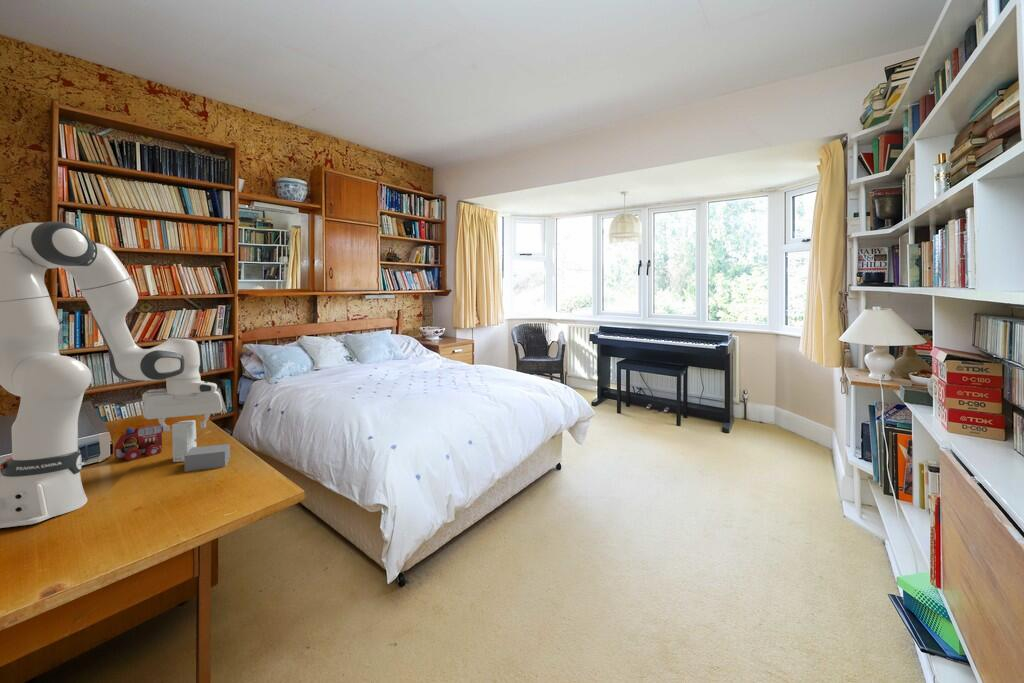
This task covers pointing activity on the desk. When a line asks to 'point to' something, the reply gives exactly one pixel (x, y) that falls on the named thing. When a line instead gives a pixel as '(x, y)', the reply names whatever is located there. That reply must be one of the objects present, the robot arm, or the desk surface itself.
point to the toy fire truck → (139, 442)
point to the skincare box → (183, 439)
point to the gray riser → (207, 457)
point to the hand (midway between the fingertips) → (185, 429)
